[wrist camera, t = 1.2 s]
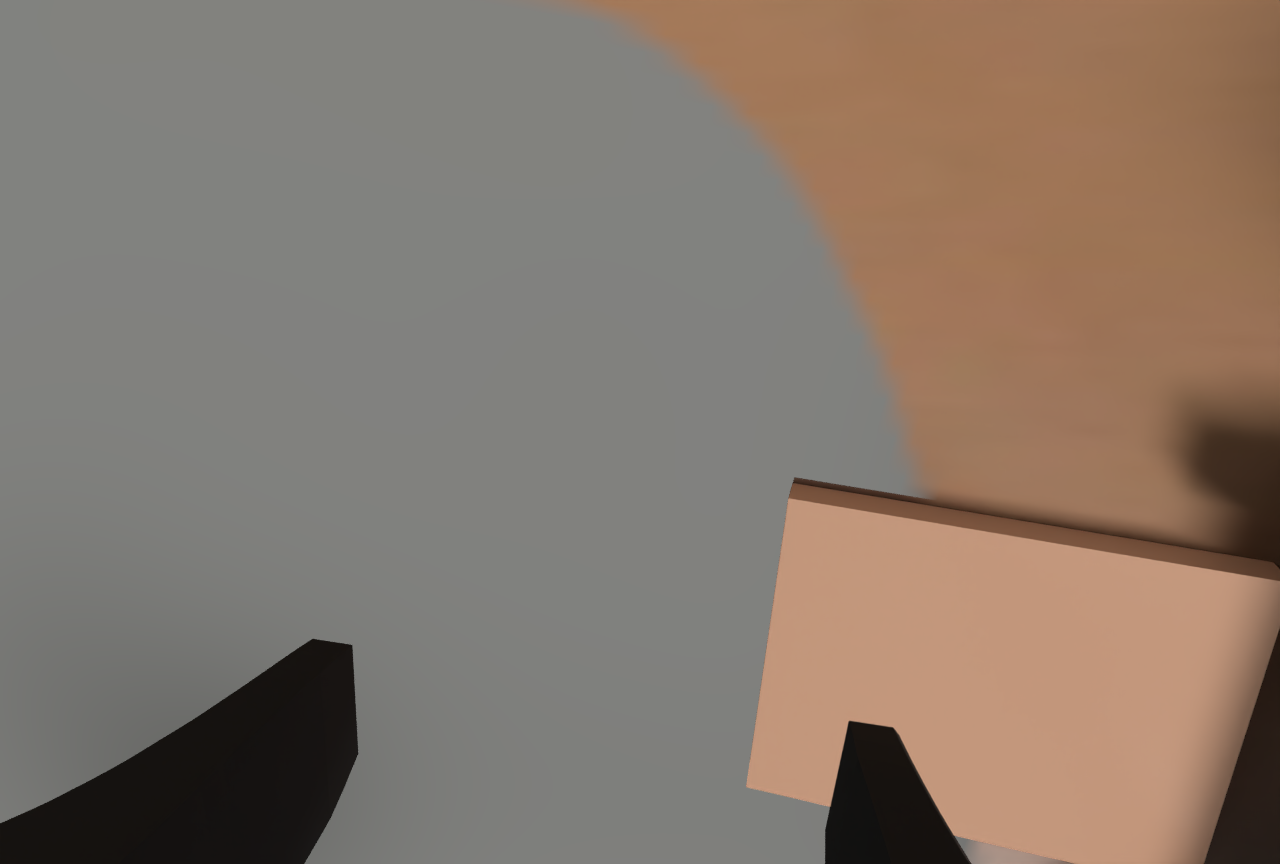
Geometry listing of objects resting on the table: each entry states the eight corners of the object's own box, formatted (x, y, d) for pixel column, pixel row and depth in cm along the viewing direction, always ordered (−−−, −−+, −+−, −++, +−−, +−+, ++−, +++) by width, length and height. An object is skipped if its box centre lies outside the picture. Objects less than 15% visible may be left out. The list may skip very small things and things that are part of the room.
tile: (1175, 845, 27) (1194, 891, 25) (753, 751, 29) (746, 787, 28) (1265, 554, 24) (1294, 583, 23) (794, 477, 27) (788, 498, 25)
